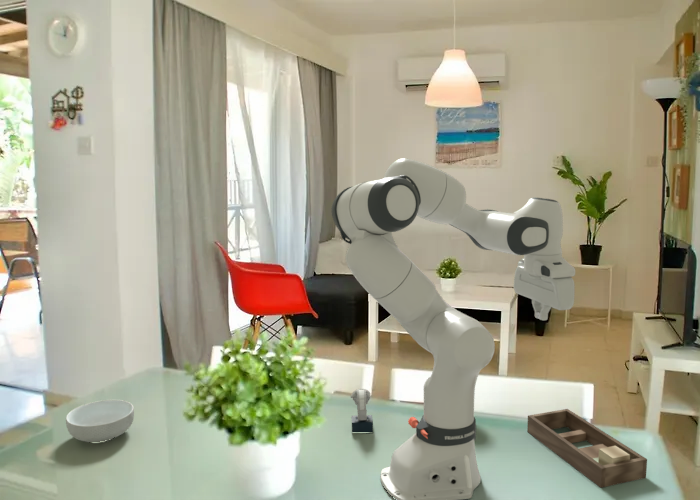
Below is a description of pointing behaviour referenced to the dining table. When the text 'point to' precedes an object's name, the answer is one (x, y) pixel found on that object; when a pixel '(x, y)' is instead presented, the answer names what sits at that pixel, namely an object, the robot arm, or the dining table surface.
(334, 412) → the dining table surface
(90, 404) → the cereal bowl
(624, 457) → the block
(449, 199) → the robot arm
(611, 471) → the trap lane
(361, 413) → the grey joystick on base
